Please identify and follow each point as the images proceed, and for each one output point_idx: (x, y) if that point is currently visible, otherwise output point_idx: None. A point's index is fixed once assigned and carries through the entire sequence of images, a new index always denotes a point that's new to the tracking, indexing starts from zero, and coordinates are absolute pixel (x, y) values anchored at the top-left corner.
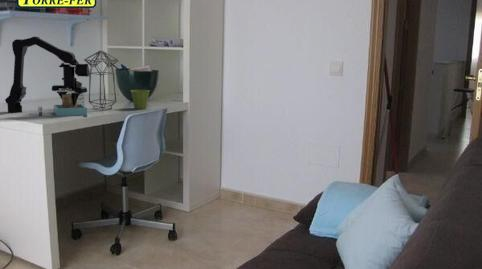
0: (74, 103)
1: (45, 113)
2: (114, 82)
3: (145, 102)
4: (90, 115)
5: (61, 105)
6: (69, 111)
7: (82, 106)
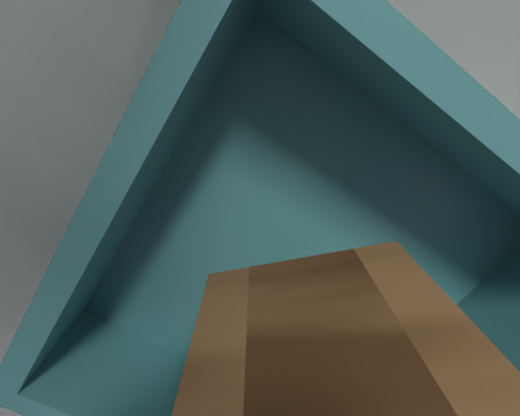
0: None
1: None
2: None
3: None
4: (515, 82)
5: (60, 317)
6: None
7: (458, 131)
